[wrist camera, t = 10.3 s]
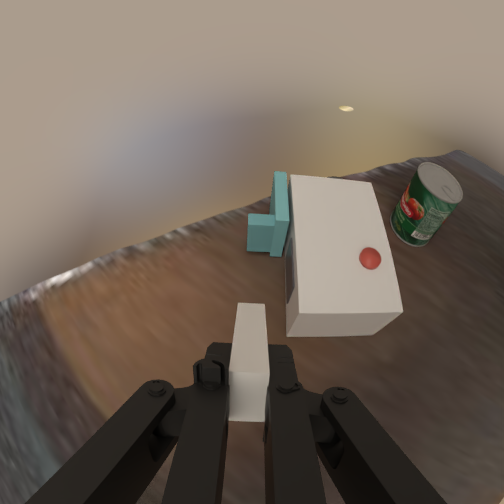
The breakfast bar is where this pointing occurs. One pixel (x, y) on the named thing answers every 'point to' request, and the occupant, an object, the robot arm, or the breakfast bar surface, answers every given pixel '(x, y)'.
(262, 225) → the door
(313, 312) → the block
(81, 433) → the breakfast bar surface
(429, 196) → the canned tomato
